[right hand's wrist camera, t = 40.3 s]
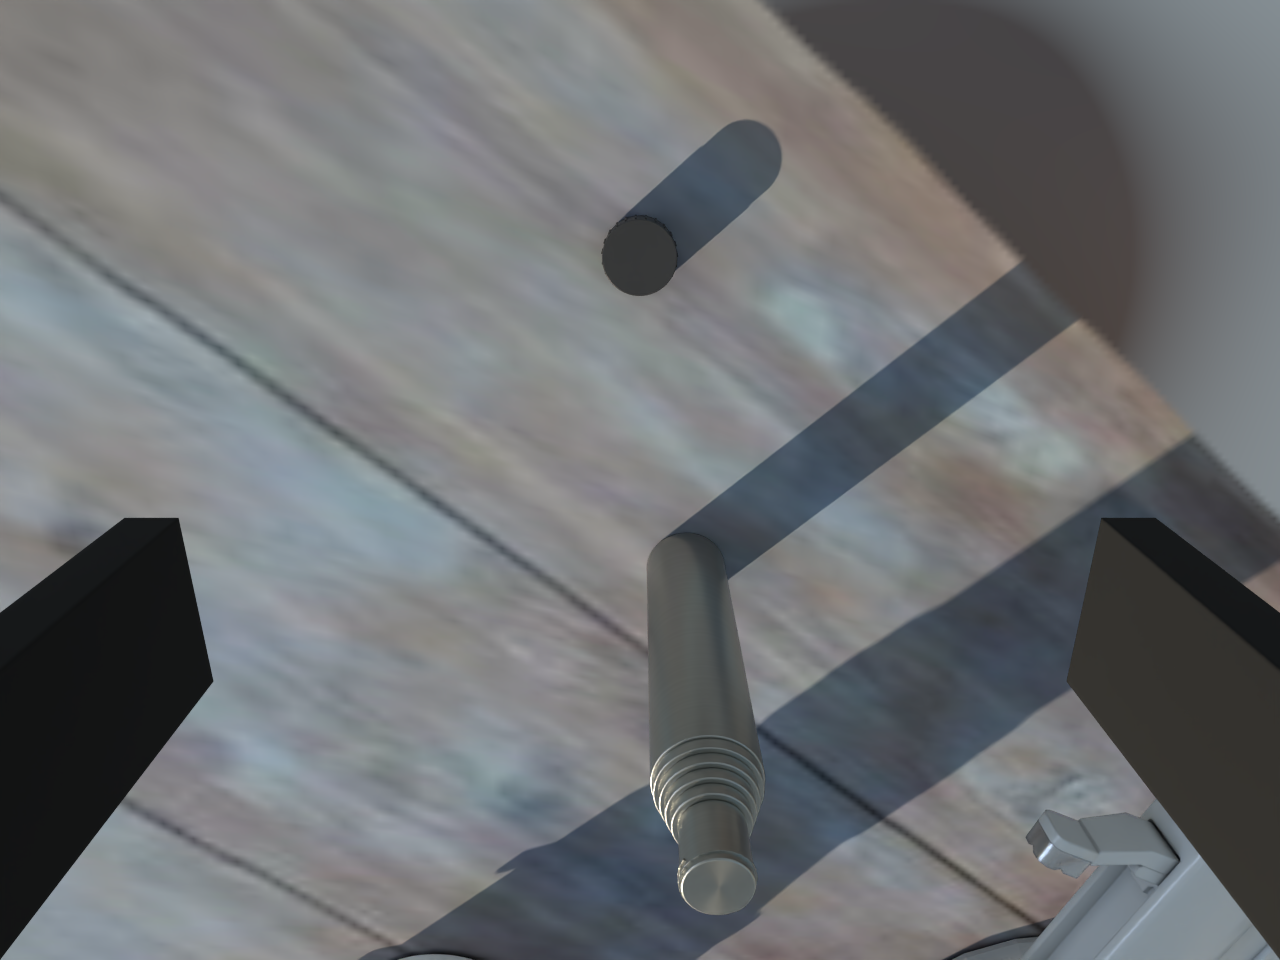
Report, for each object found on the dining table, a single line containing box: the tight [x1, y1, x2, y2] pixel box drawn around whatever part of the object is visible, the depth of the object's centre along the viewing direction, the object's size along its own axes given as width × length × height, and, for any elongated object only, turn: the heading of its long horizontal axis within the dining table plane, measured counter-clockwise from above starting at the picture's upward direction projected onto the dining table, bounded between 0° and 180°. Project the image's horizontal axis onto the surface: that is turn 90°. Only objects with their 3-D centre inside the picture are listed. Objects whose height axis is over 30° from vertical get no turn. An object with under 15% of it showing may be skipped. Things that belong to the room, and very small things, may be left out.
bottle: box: [647, 533, 765, 915], centre depth 44 cm, size 5×5×25 cm
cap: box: [601, 215, 678, 296], centre depth 47 cm, size 4×4×2 cm
